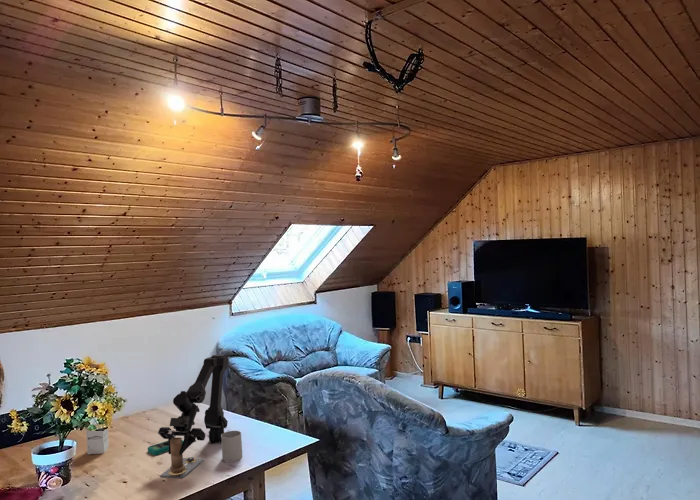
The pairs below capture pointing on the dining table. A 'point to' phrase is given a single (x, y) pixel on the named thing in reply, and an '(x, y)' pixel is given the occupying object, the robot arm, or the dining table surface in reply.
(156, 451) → the digital multimeter
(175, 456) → the walnut post
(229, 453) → the cup
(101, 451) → the supplement box
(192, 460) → the gauge plate
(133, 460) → the dining table surface
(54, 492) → the dining table surface
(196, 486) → the dining table surface
